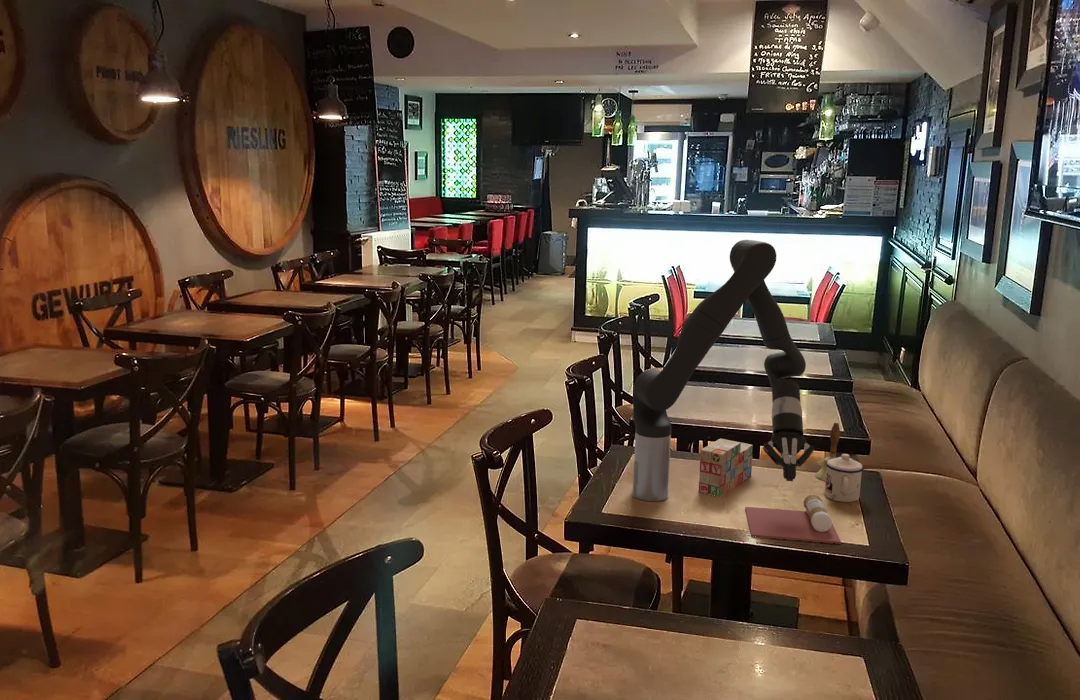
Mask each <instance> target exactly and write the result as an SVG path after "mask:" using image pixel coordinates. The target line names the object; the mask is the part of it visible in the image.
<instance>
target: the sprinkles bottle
mask: <svg viewBox="0 0 1080 700" xmlns="http://www.w3.org/2000/svg"><path fill="white" fill-rule="evenodd" d="M803 507H804V508H805V510H806V511H807V513H808V515H809V517H810V519H811V524H812V526H813V528H814V529H815V530H817V531H819V532H825V531H828V530H829V529H830V528H831V526H832V524H833V520H832V518H831V515H829V513H828V511H827V509H826V507H825V505H824V503H823V500H822V499H821V497H820V496H818V495H816V494H809V495H807V496H806V497H805V498H804V500H803Z"/></svg>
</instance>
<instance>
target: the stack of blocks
mask: <svg viewBox="0 0 1080 700" xmlns="http://www.w3.org/2000/svg"><path fill="white" fill-rule="evenodd" d="M753 449H754V445H753V444H751V443H750V444H749V443H745V442H740V441H736V440H729V439H726V438H719V439H717V440H716V441H713V442H712V443H710V444H709V445H707V446H705V447H703V448H701V449H700V461H699V479H698V480H699V481H698V493H700V492H702V493H701V494H704V493H706V494H705V495H708V494H710V495H709V496H712V495H713V496H712V497H716V496H718V497H717V498H721V497H723V496H724V495H726V494H727V493H729V492H730V491H731V489H732V490H733V489H734V488H735V487H737V486H738V485H740V484H741V483H742V482H745V480H747V479H748V478H750V477H751V476H752V466H753ZM749 476H750V477H749ZM725 493H726V494H725ZM723 494H724V495H723ZM714 495H715V496H714ZM722 495H723V496H722Z"/></svg>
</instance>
